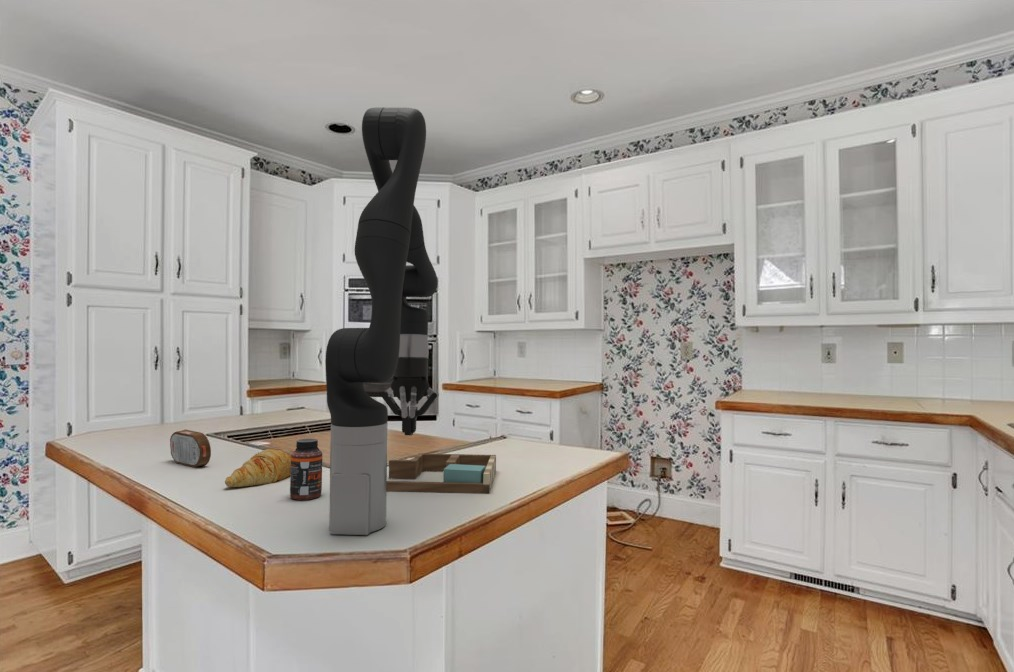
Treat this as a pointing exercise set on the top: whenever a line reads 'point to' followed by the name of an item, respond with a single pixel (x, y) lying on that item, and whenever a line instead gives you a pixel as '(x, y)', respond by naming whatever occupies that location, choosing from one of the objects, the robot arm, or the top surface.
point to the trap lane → (438, 463)
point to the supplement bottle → (306, 470)
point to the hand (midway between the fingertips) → (409, 434)
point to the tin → (190, 448)
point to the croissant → (262, 469)
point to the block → (464, 473)
